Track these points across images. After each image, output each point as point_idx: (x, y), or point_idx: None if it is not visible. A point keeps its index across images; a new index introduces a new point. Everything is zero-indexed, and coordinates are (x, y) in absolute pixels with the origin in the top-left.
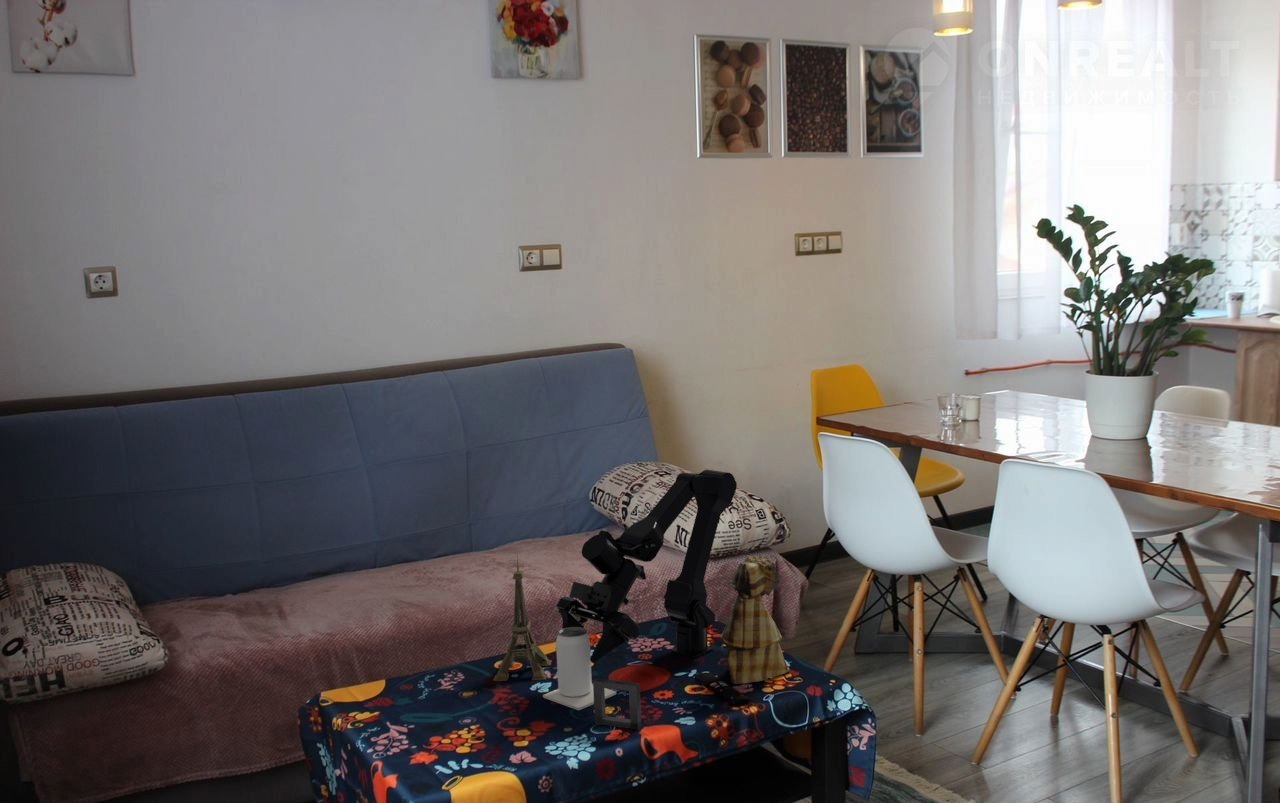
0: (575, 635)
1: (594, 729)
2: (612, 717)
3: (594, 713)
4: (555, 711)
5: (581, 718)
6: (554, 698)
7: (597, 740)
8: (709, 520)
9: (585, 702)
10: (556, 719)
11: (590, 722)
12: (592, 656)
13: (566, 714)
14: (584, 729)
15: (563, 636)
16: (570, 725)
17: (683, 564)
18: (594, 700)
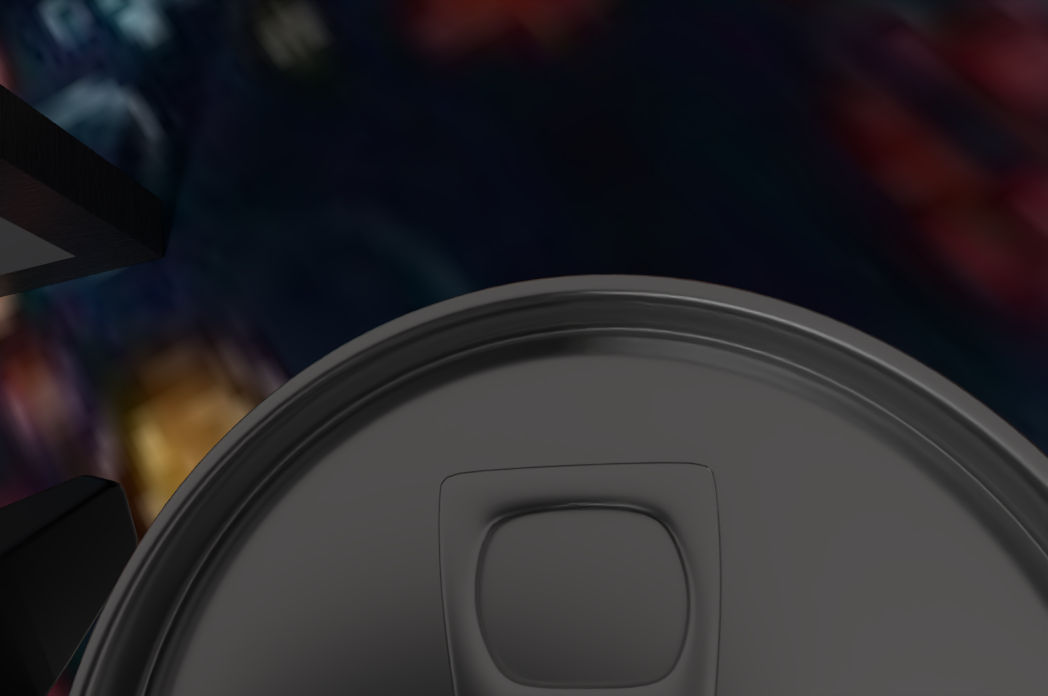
0: (365, 670)
1: (120, 126)
2: (17, 264)
3: (108, 163)
4: (572, 220)
5: (299, 222)
6: None
7: (30, 13)
8: None
9: None
10: (466, 108)
11: (201, 201)
12: (35, 498)
13: (451, 220)
14: (183, 89)
15: (606, 282)
16: (308, 86)
17: None
18: (17, 102)
